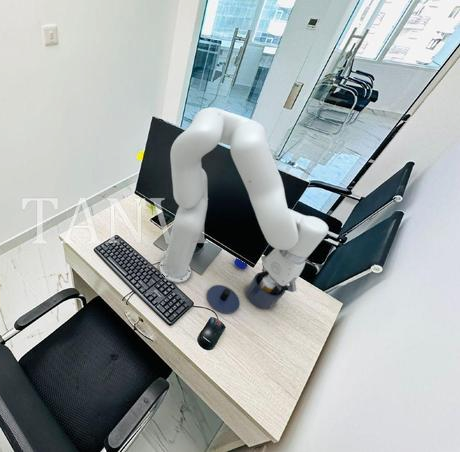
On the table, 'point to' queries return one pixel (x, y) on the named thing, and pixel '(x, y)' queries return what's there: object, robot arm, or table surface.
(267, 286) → the supplement bottle
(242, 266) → the beverage can
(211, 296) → the lid
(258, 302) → the pot
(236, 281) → the table surface
